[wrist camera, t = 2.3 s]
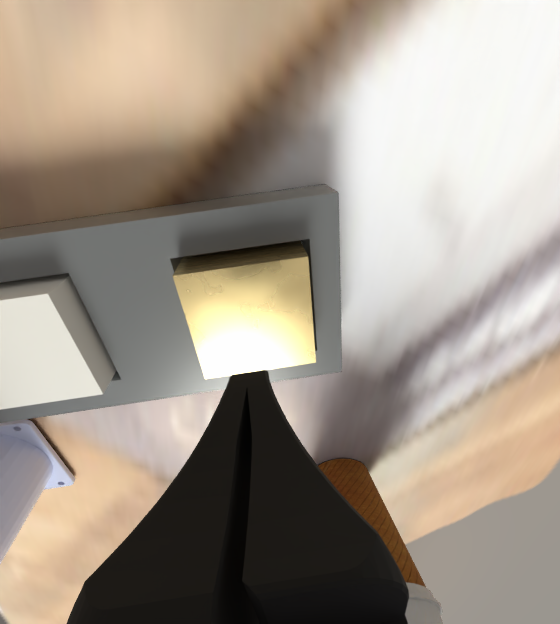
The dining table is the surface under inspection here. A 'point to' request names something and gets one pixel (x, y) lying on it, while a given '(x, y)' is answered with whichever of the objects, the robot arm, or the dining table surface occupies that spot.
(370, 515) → the disposable coffee cup
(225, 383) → the panel
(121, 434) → the dining table surface
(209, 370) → the brass button
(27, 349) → the white button
